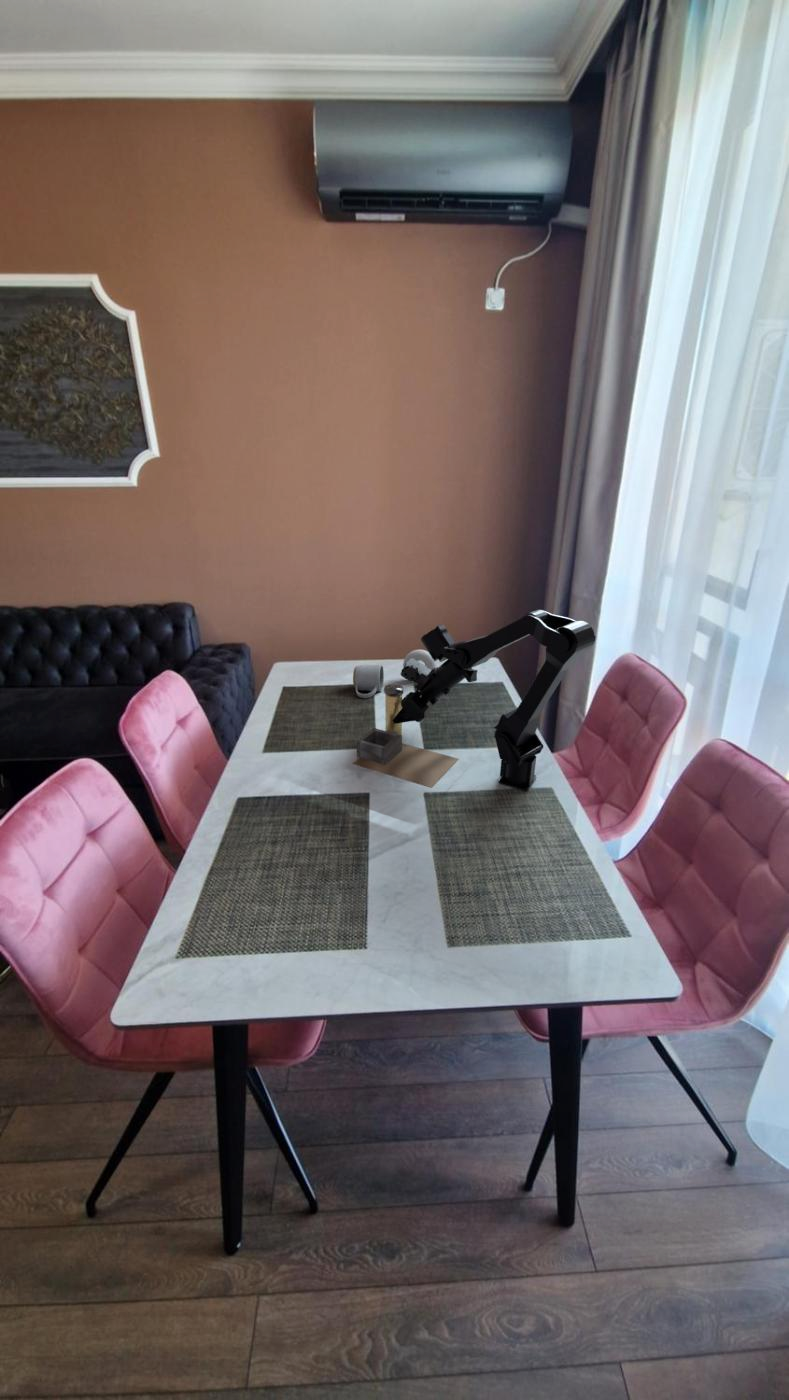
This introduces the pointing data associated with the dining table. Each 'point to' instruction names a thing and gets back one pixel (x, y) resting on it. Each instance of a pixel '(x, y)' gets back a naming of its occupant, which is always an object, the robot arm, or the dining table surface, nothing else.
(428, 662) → the donut
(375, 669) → the ceramic mug
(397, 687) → the brass peg
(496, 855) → the dining table surface
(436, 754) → the board with square socket
